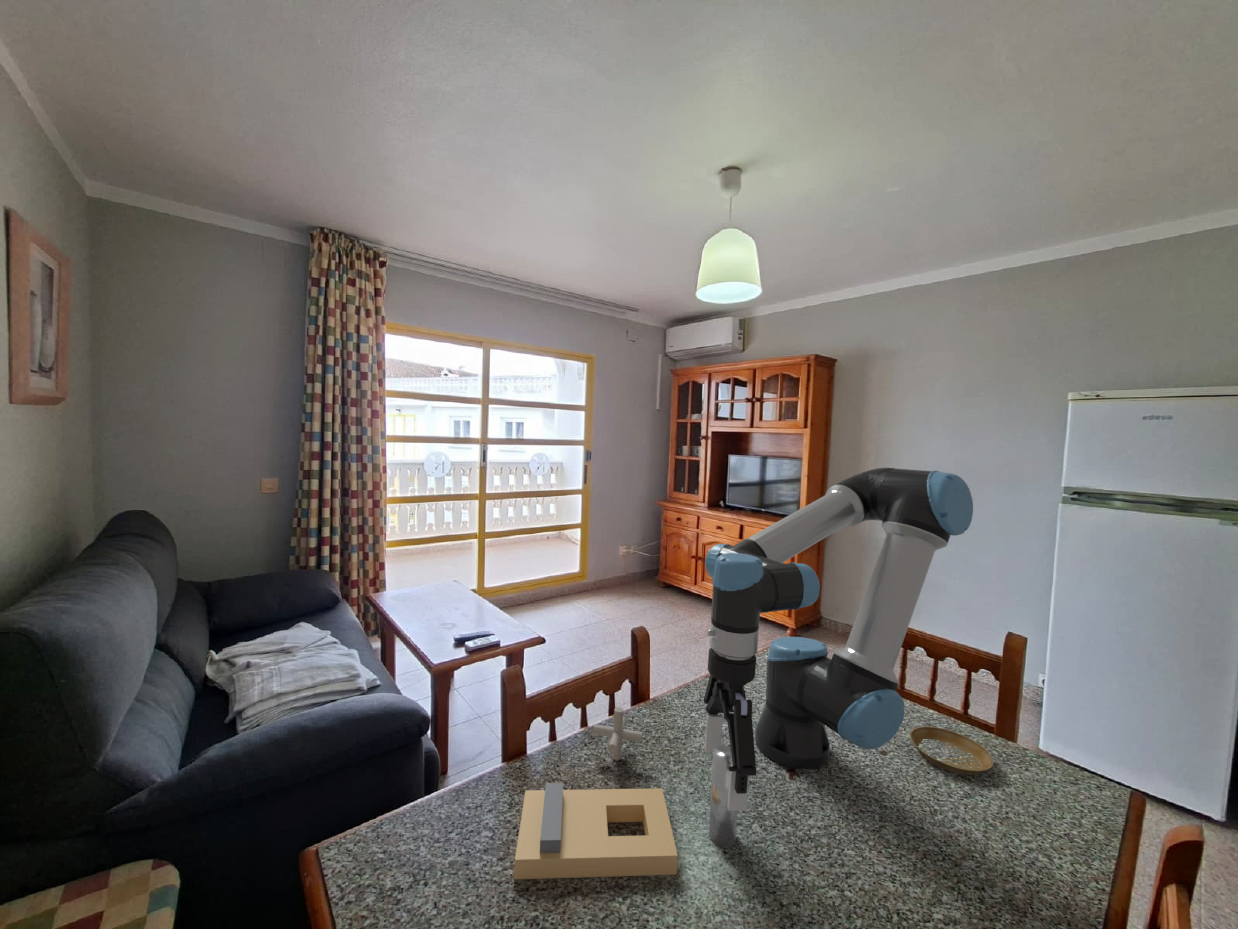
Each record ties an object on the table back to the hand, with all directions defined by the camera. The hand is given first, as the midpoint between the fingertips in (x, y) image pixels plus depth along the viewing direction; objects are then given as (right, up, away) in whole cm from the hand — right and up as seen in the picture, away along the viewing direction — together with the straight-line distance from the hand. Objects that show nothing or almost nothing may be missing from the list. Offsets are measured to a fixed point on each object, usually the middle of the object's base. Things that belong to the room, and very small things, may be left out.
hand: (723, 778), depth 80 cm
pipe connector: (-18, -8, +19) cm, 27 cm away
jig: (-21, -9, -1) cm, 23 cm away
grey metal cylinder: (0, -10, +1) cm, 10 cm away
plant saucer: (+53, -12, +24) cm, 59 cm away
